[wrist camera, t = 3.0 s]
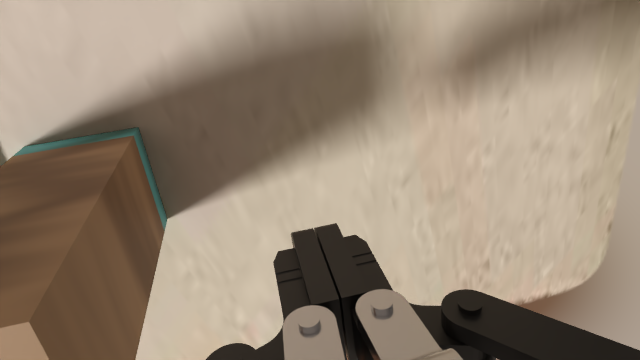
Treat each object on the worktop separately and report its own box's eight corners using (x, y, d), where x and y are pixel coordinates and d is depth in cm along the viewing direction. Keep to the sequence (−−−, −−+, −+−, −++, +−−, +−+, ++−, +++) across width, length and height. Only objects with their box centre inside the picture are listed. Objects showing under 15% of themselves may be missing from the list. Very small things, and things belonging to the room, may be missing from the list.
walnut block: (138, 127, 20) (28, 322, 9) (167, 219, 23) (109, 471, 11) (24, 146, 20) (-254, 383, 8) (65, 239, 22) (-110, 530, 10)
